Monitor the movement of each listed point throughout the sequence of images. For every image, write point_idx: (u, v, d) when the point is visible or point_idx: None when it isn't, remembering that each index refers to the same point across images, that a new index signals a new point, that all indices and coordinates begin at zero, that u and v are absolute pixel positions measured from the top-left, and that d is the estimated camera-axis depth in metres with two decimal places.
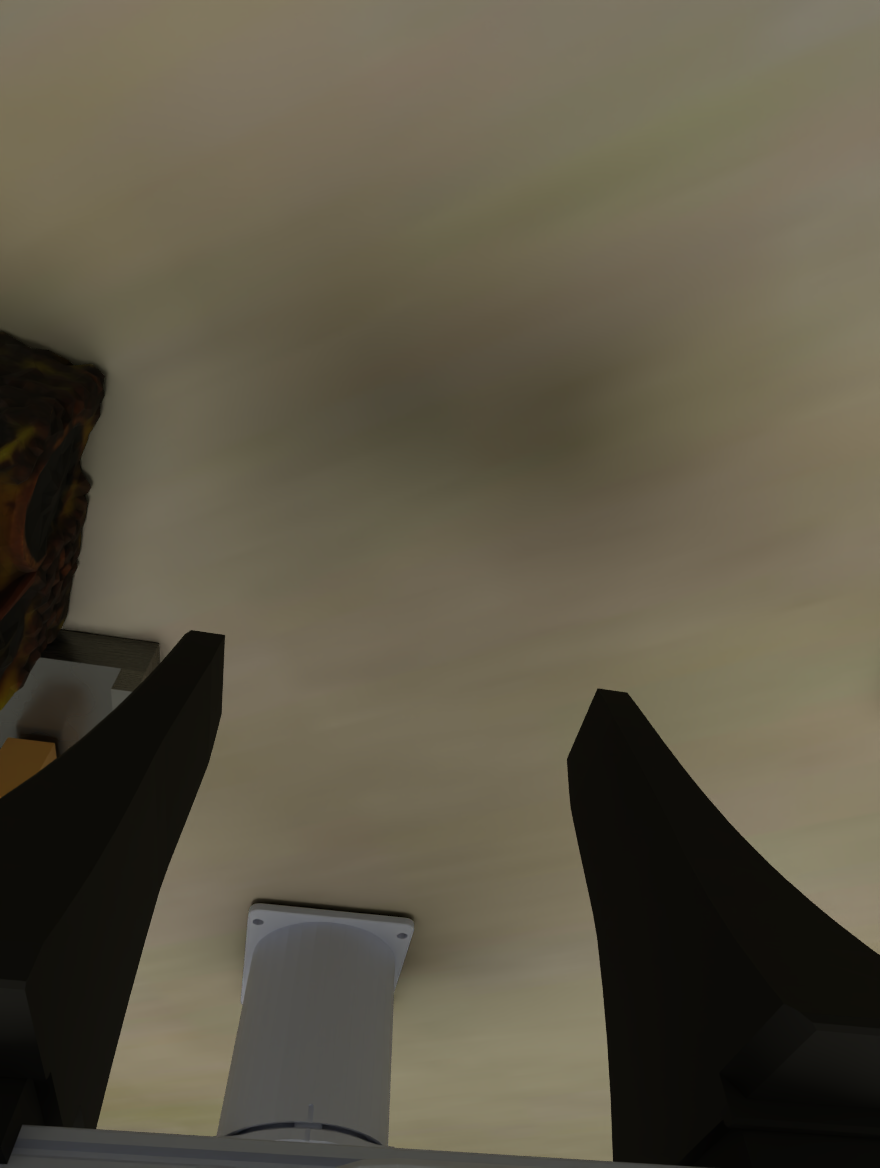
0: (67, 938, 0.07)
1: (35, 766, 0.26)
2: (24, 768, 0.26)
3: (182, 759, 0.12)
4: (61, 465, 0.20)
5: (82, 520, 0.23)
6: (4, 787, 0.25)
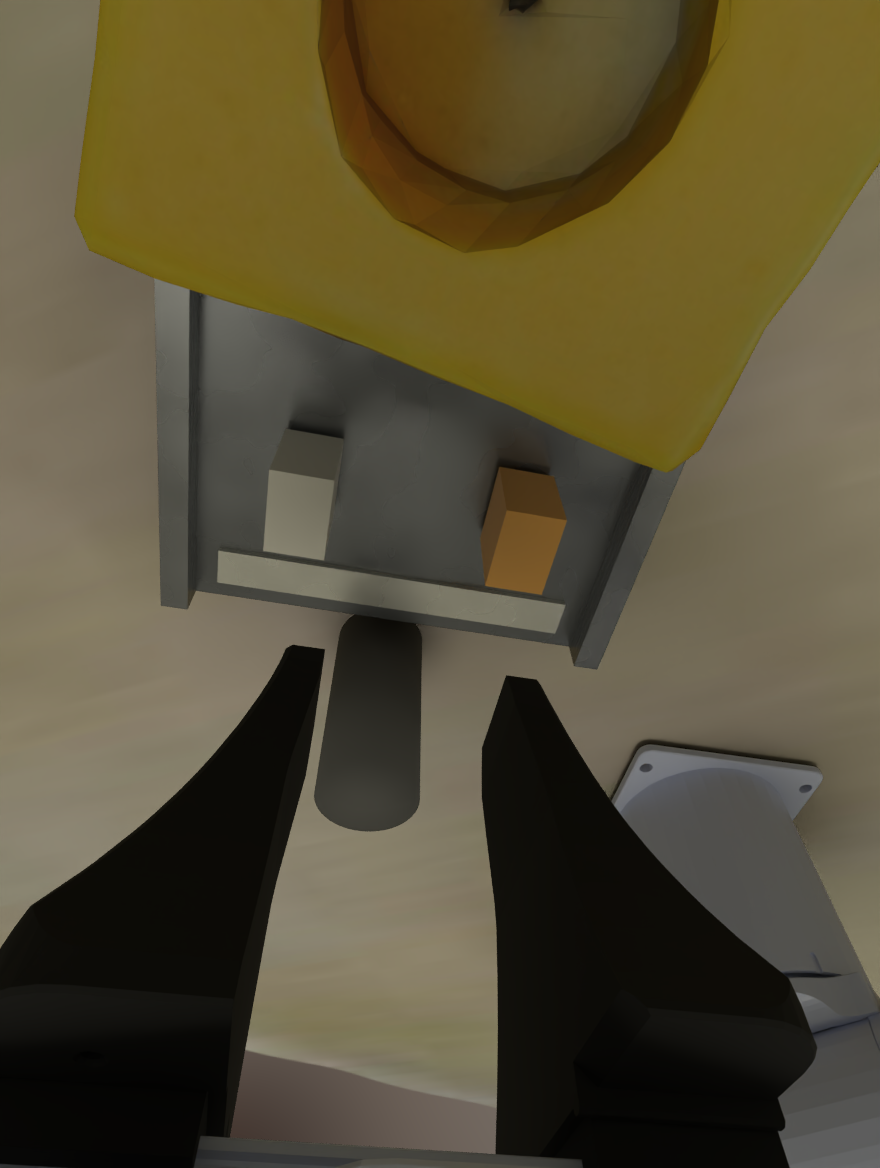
0: (247, 955, 0.08)
1: (552, 493, 0.20)
2: (542, 494, 0.20)
3: (296, 773, 0.12)
4: None
5: None
6: (536, 508, 0.19)
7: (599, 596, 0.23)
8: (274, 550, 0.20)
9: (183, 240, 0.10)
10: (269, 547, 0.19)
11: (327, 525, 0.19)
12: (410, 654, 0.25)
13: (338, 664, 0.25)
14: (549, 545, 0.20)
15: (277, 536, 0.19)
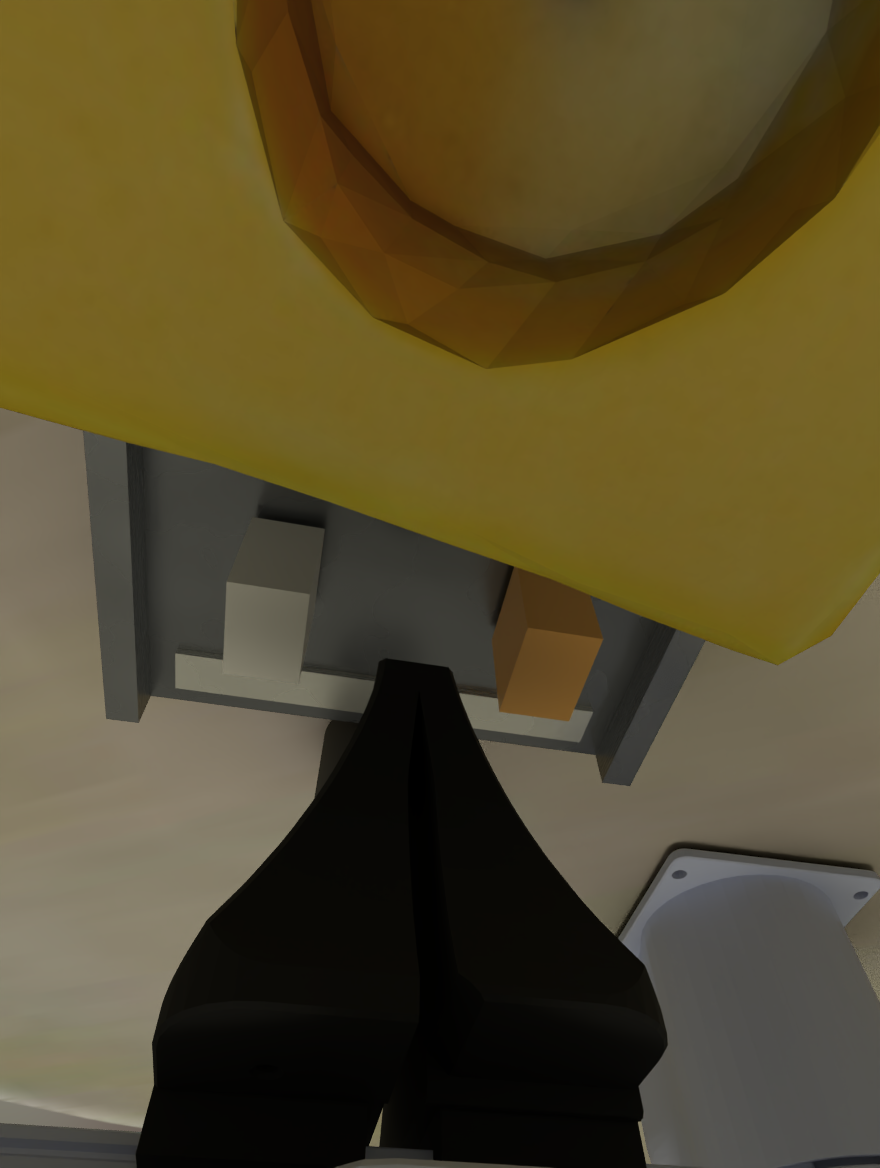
0: None
1: (582, 597, 0.16)
2: (570, 599, 0.16)
3: None
4: None
5: None
6: (564, 622, 0.15)
7: (634, 707, 0.19)
8: (237, 672, 0.16)
9: (33, 351, 0.06)
10: (230, 669, 0.16)
11: (302, 645, 0.15)
12: None
13: (322, 778, 0.21)
14: (580, 667, 0.16)
15: (239, 657, 0.15)
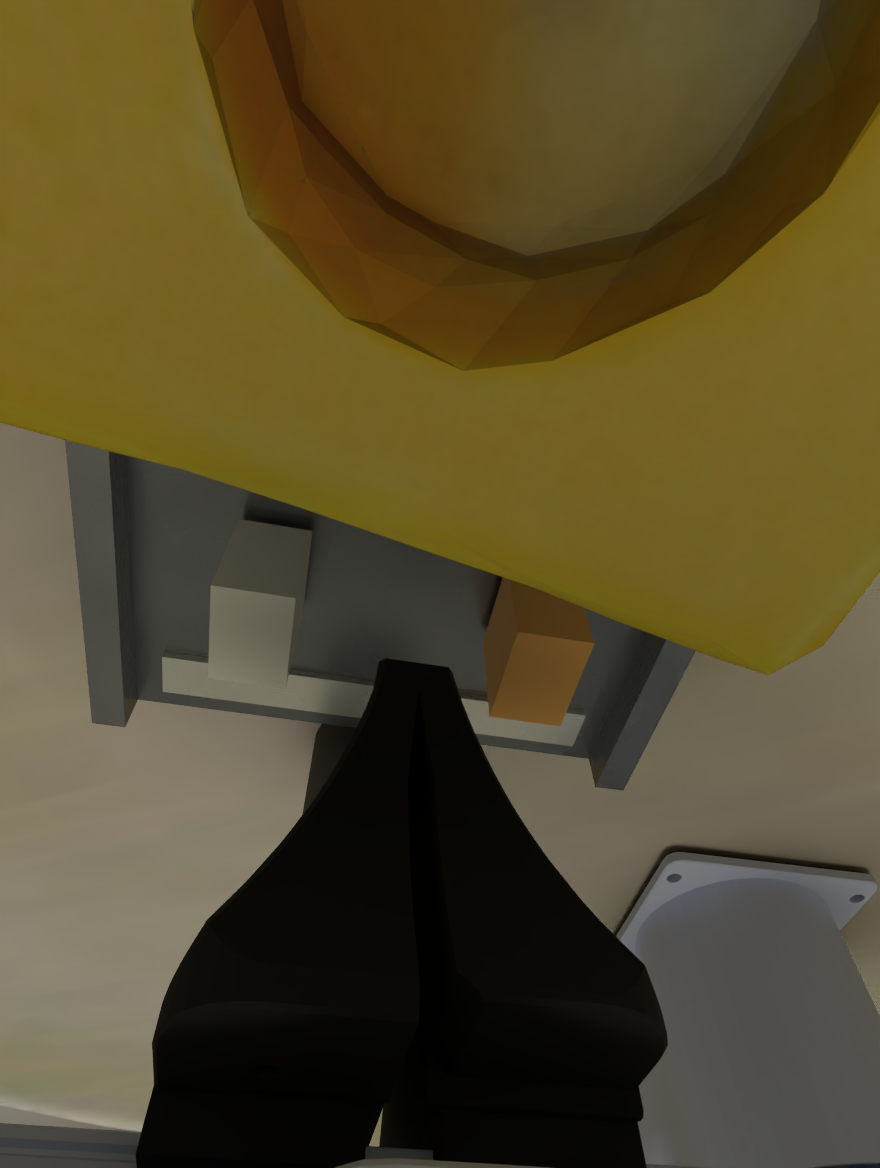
0: None
1: None
2: (561, 603, 0.16)
3: None
4: None
5: None
6: (555, 626, 0.15)
7: (627, 710, 0.19)
8: (222, 676, 0.15)
9: None
10: (215, 674, 0.15)
11: (288, 649, 0.15)
12: None
13: (312, 783, 0.20)
14: (571, 671, 0.15)
15: (225, 661, 0.15)
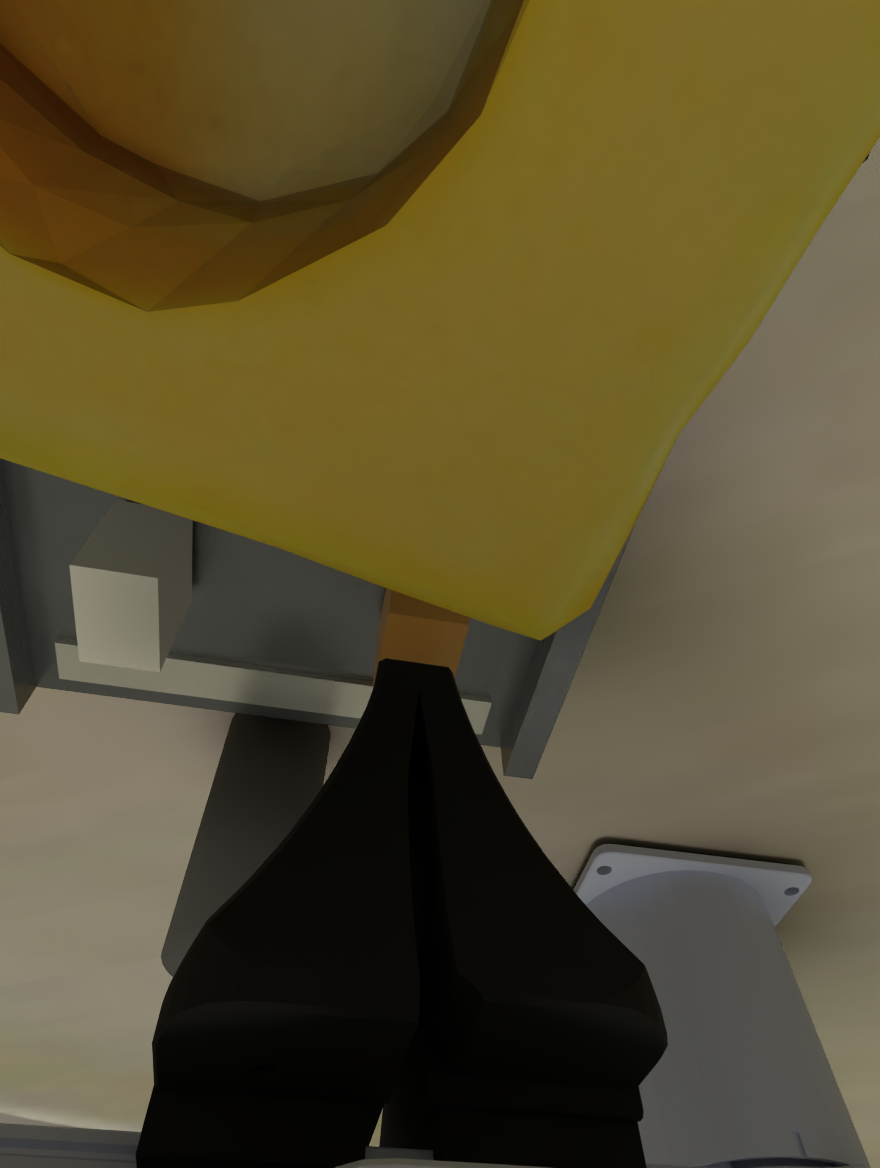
0: None
1: None
2: None
3: None
4: None
5: None
6: (430, 607, 0.15)
7: (529, 697, 0.19)
8: (95, 660, 0.15)
9: None
10: (86, 657, 0.15)
11: (157, 631, 0.15)
12: (305, 758, 0.20)
13: (217, 772, 0.20)
14: (449, 654, 0.15)
15: (94, 644, 0.15)
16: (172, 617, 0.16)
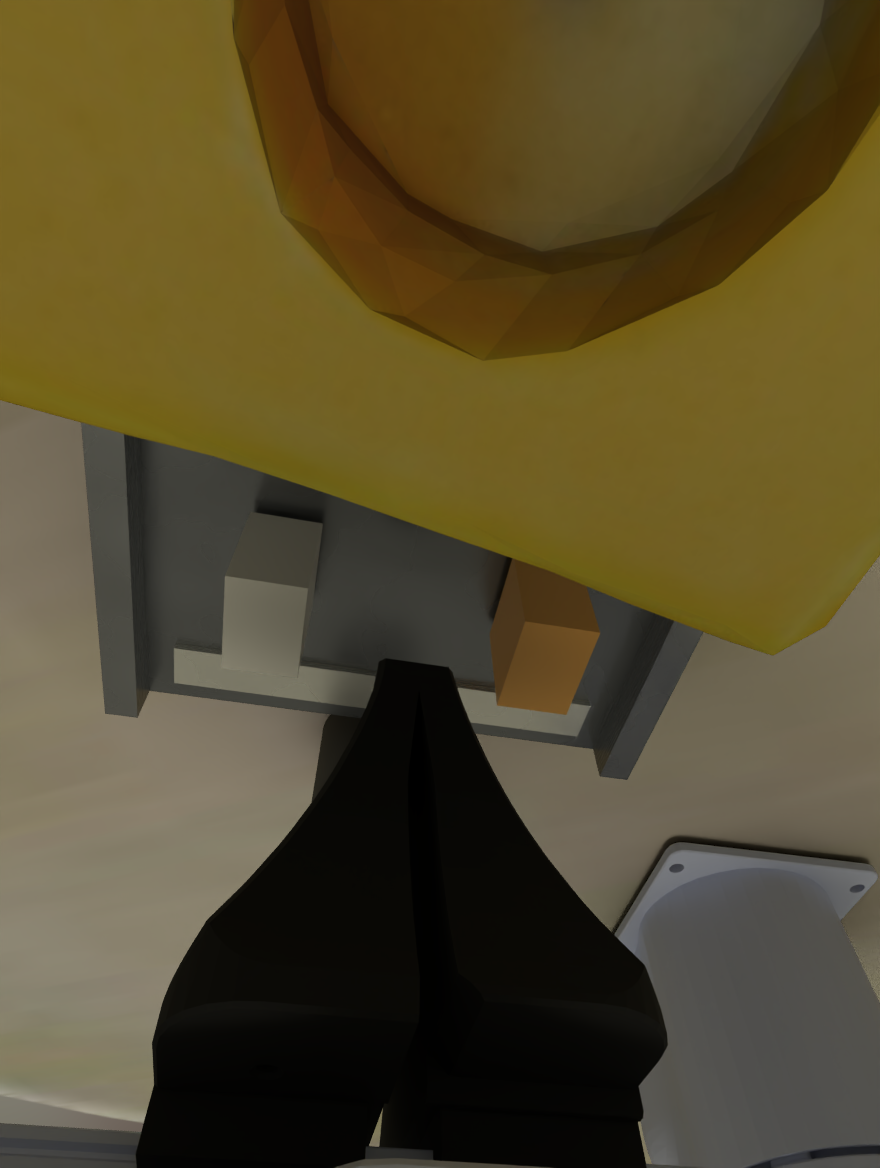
0: None
1: (579, 591, 0.16)
2: (567, 593, 0.16)
3: None
4: None
5: None
6: (561, 616, 0.15)
7: (631, 701, 0.19)
8: (235, 666, 0.16)
9: (32, 344, 0.06)
10: (229, 663, 0.16)
11: (300, 639, 0.15)
12: None
13: (320, 773, 0.21)
14: (577, 660, 0.16)
15: (238, 651, 0.15)
16: (306, 625, 0.16)
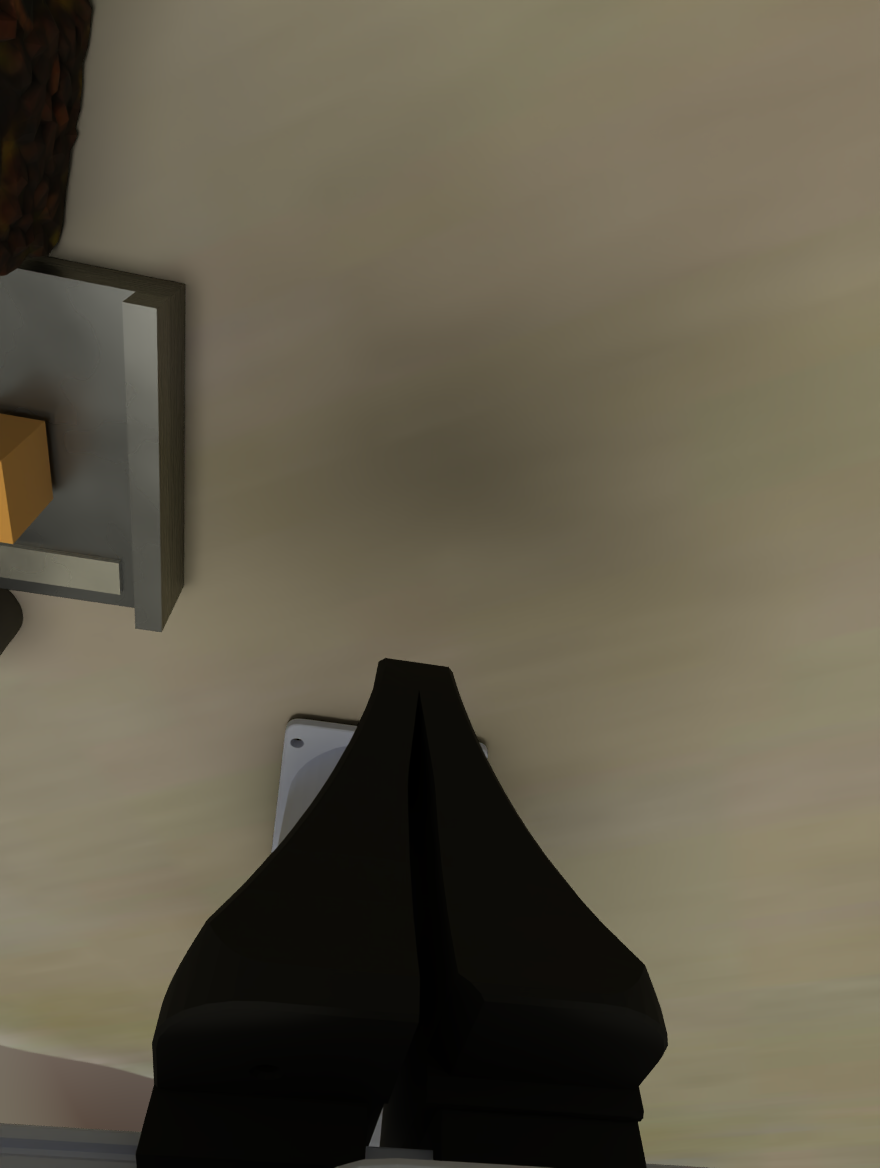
0: None
1: (18, 436, 0.19)
2: (3, 436, 0.19)
3: None
4: None
5: (84, 40, 0.17)
6: None
7: (134, 552, 0.22)
8: None
9: None
10: None
11: None
12: None
13: None
14: None
15: None
16: None
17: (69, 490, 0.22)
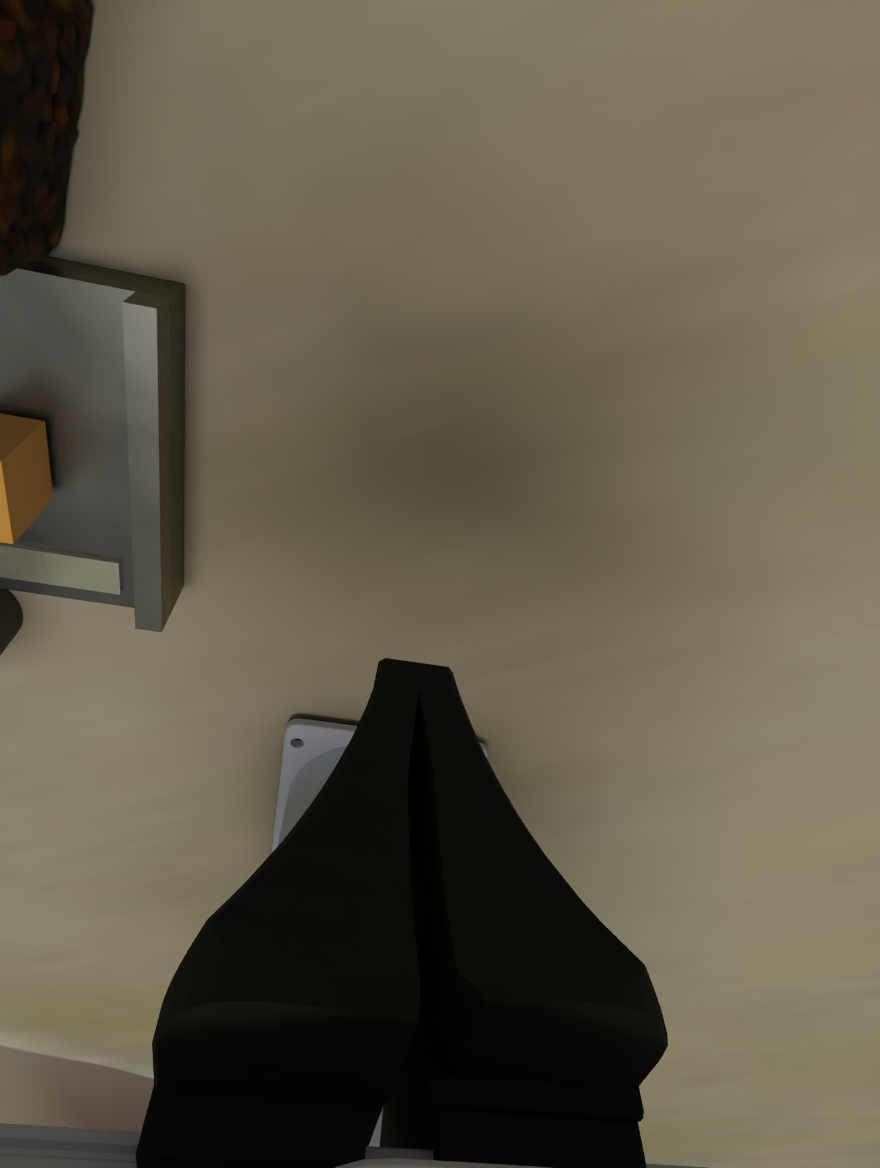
0: None
1: (18, 436, 0.19)
2: (3, 436, 0.19)
3: None
4: None
5: (84, 40, 0.17)
6: None
7: (134, 552, 0.22)
8: None
9: None
10: None
11: None
12: None
13: None
14: None
15: None
16: None
17: (69, 490, 0.22)
